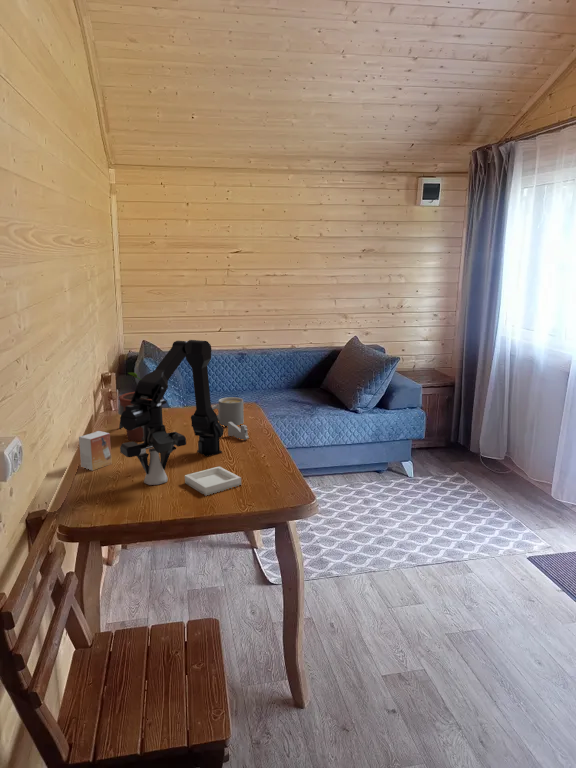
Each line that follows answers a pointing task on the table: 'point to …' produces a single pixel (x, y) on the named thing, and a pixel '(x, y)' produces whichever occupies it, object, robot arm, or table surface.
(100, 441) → the small box
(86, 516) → the table surface
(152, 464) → the flask
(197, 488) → the shaker caddy
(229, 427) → the grey tape dispenser
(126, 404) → the potted plant
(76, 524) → the table surface
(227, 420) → the coffee mug
